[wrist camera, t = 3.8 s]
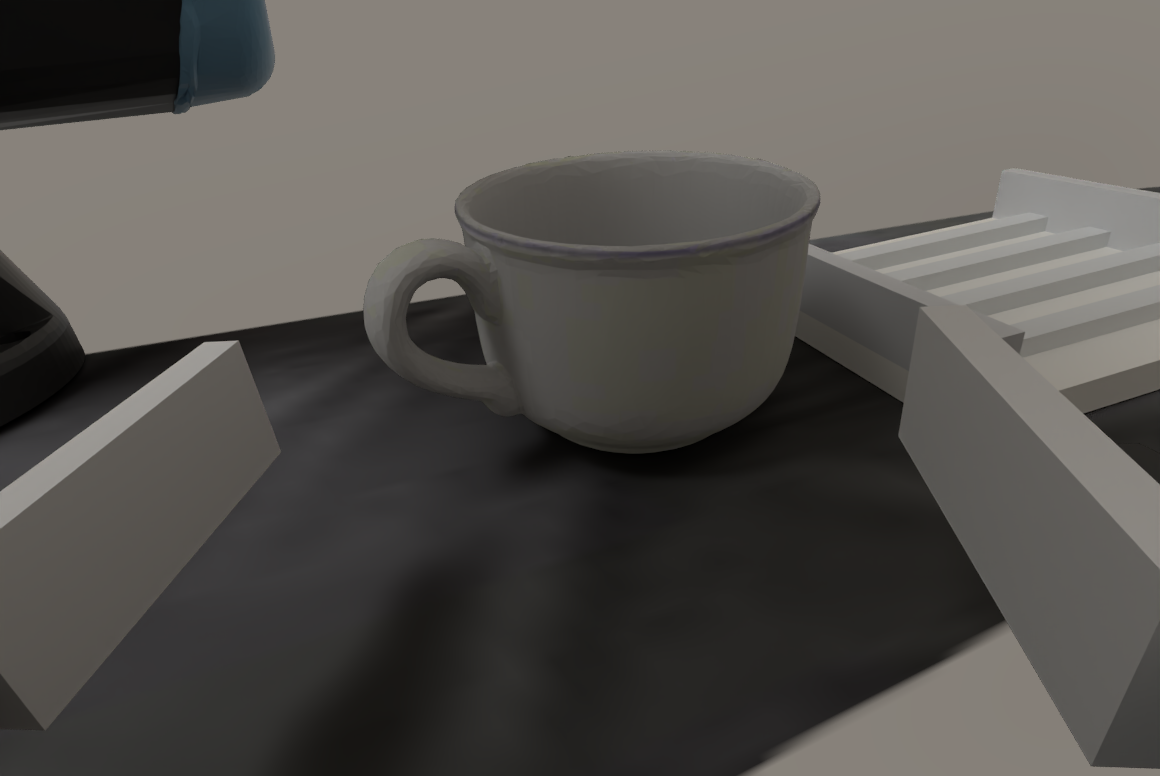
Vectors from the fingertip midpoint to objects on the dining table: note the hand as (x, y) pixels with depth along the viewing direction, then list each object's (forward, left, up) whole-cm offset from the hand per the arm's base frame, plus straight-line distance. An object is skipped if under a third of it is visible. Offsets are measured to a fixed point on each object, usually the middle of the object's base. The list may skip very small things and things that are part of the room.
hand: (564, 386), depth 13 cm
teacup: (-5, +7, -6) cm, 10 cm away
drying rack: (+5, +21, -6) cm, 23 cm away
